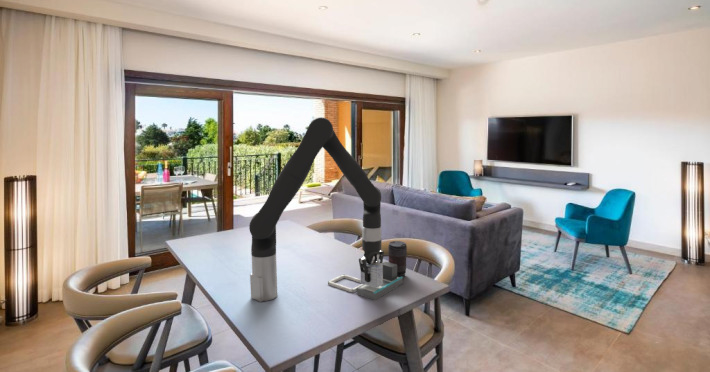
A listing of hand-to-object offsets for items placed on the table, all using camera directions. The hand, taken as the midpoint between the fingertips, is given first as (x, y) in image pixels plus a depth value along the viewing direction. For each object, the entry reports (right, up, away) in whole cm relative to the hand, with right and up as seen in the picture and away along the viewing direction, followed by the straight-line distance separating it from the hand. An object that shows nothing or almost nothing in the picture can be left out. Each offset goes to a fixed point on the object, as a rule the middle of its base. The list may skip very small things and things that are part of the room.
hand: (371, 279), depth 145 cm
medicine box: (0, -2, 0) cm, 2 cm away
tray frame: (-9, -5, +10) cm, 14 cm away
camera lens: (+12, -3, +19) cm, 23 cm away
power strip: (+4, -5, +5) cm, 8 cm away
